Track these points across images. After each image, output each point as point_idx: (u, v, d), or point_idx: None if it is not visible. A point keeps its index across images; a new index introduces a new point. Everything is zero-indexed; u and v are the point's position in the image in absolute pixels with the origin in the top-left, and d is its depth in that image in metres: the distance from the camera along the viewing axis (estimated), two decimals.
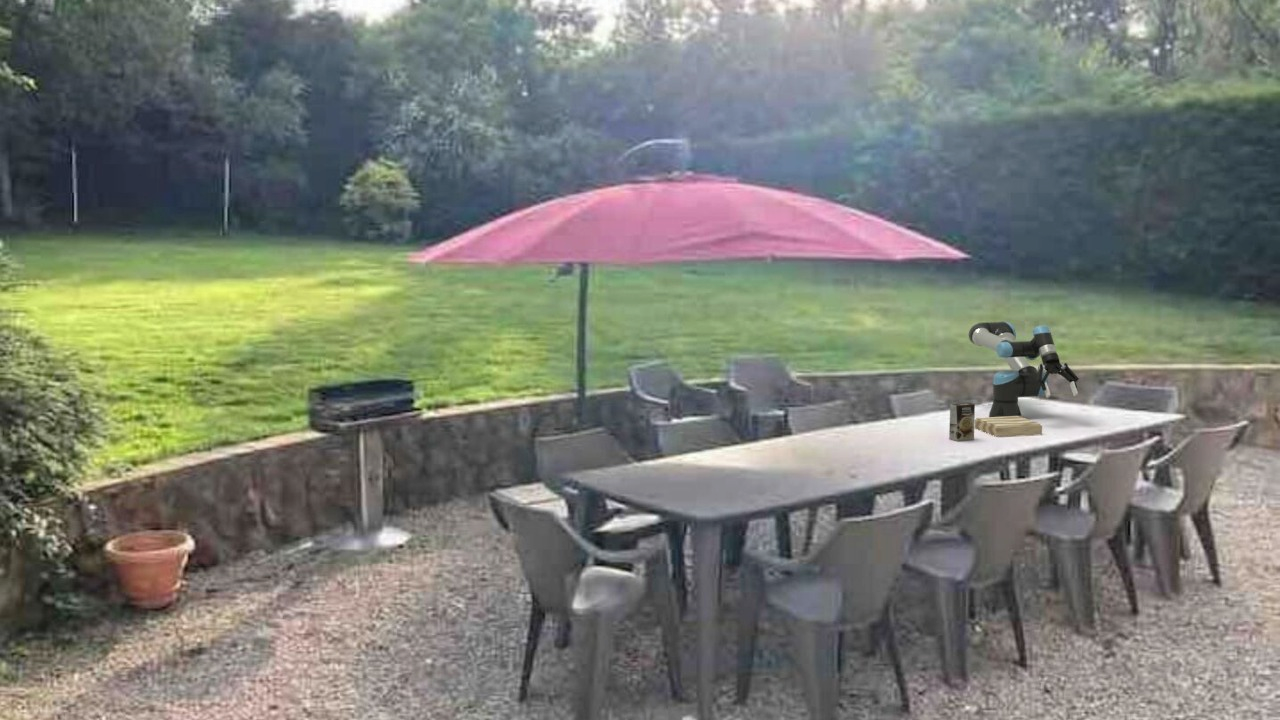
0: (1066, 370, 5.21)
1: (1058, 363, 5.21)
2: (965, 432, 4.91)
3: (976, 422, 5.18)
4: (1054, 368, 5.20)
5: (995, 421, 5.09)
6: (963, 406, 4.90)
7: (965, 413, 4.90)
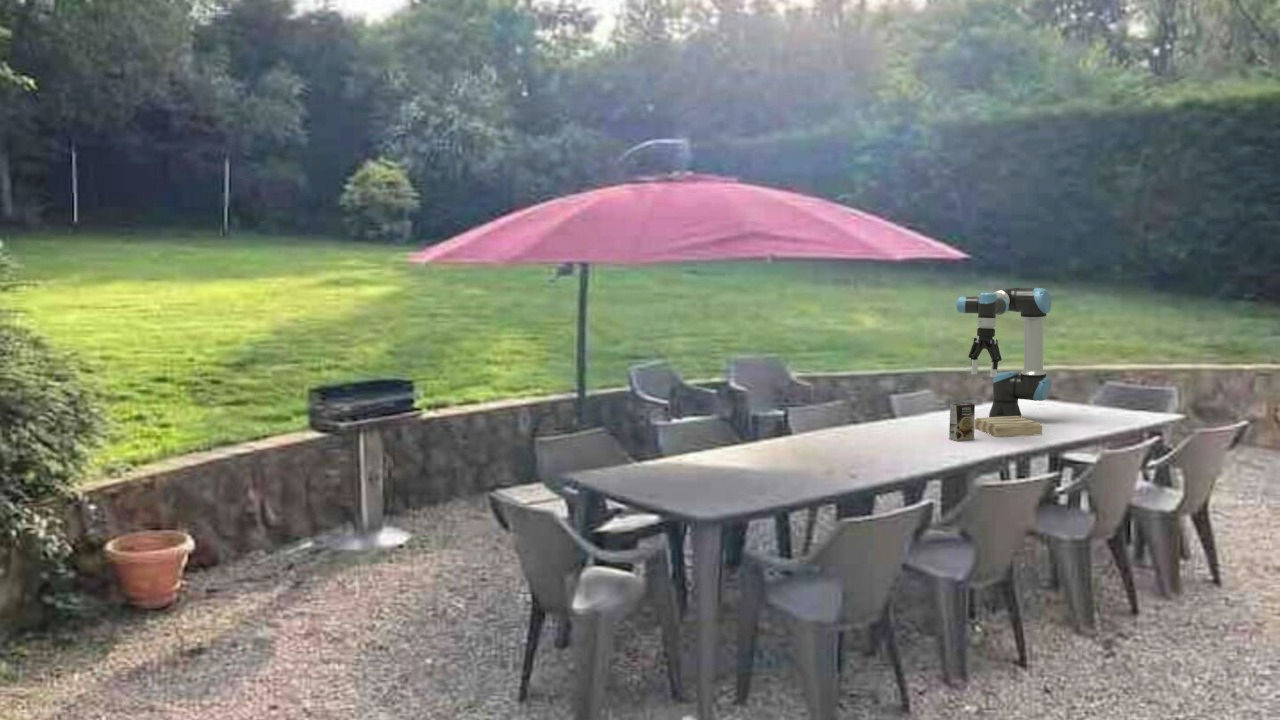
0: None
1: (987, 338, 4.86)
2: (965, 432, 4.91)
3: (976, 422, 5.18)
4: (983, 344, 4.89)
5: (995, 421, 5.09)
6: (963, 406, 4.90)
7: (965, 413, 4.90)
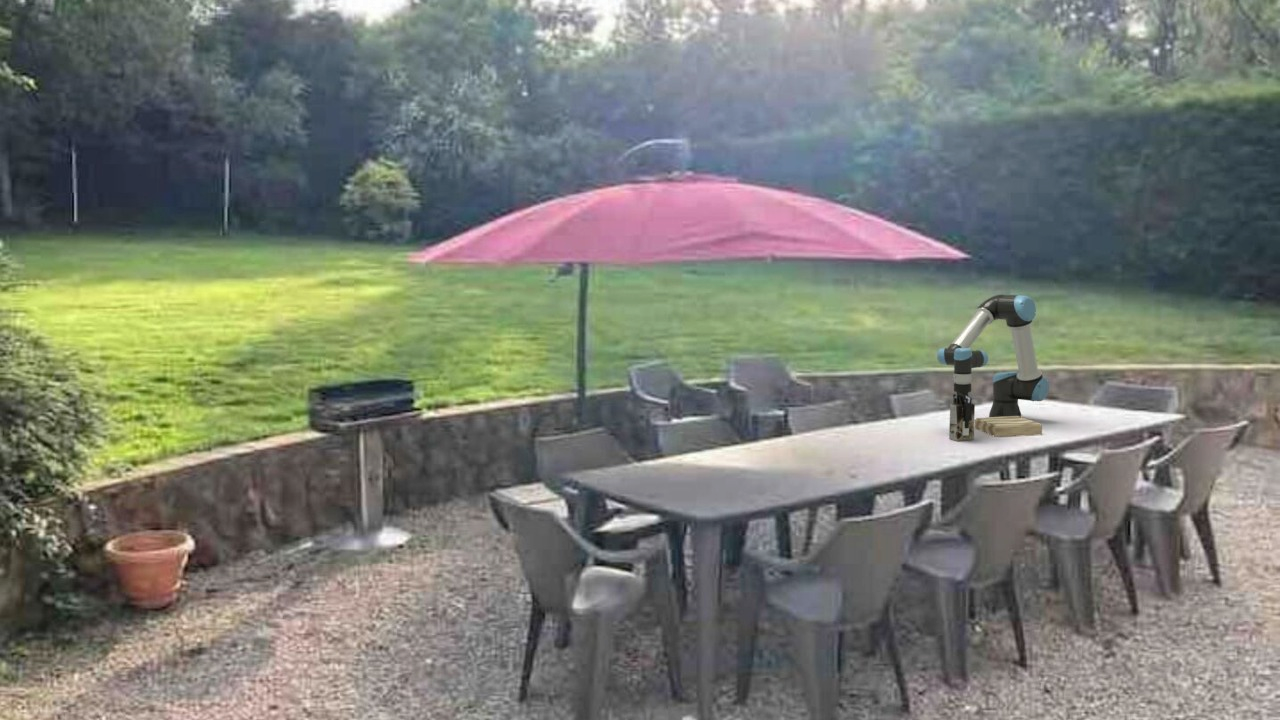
0: None
1: (963, 394, 4.89)
2: None
3: (976, 422, 5.18)
4: None
5: (995, 421, 5.09)
6: (963, 406, 4.90)
7: None
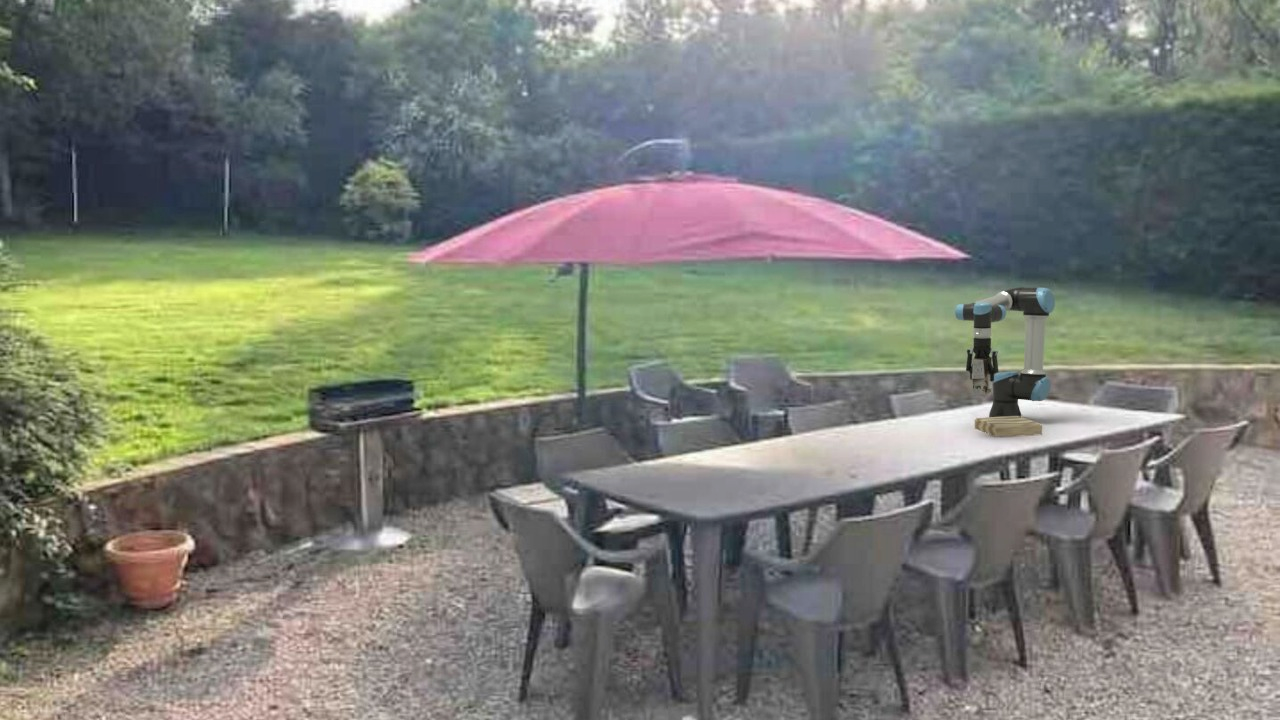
0: None
1: (987, 348, 4.94)
2: None
3: (976, 422, 5.18)
4: (980, 353, 4.96)
5: (995, 421, 5.09)
6: None
7: None
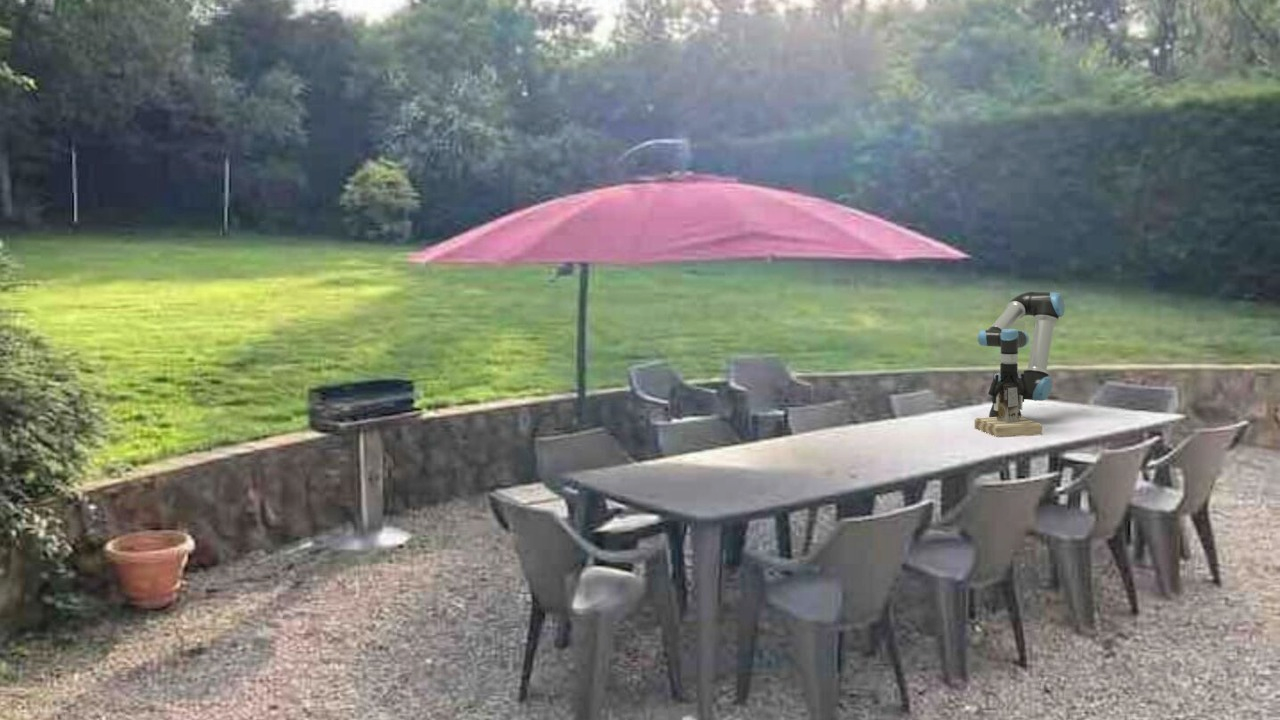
0: (1020, 380, 5.09)
1: (1015, 373, 5.07)
2: None
3: (976, 422, 5.18)
4: (1009, 379, 5.07)
5: (995, 421, 5.09)
6: None
7: None
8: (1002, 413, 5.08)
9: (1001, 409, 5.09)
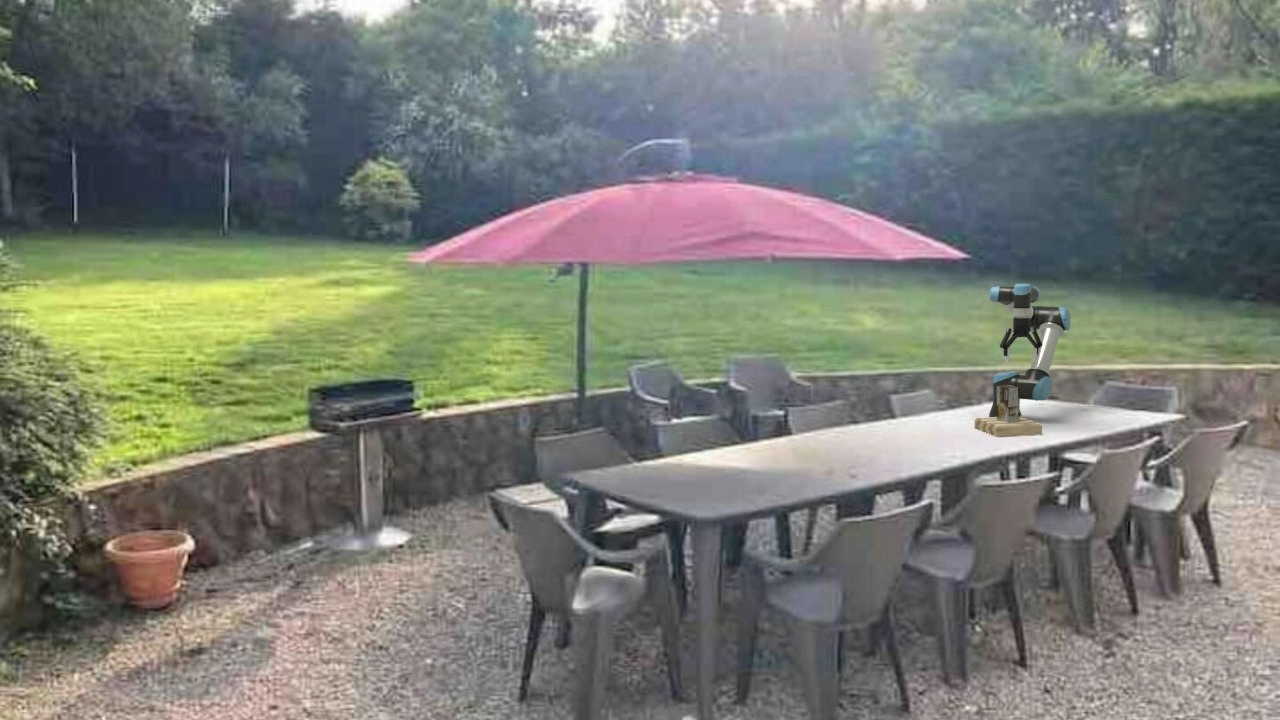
0: (1033, 334, 5.16)
1: (1028, 327, 5.14)
2: None
3: (976, 422, 5.18)
4: (1022, 333, 5.14)
5: (995, 421, 5.09)
6: None
7: None
8: (1003, 413, 5.08)
9: (1001, 409, 5.09)
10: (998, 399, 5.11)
